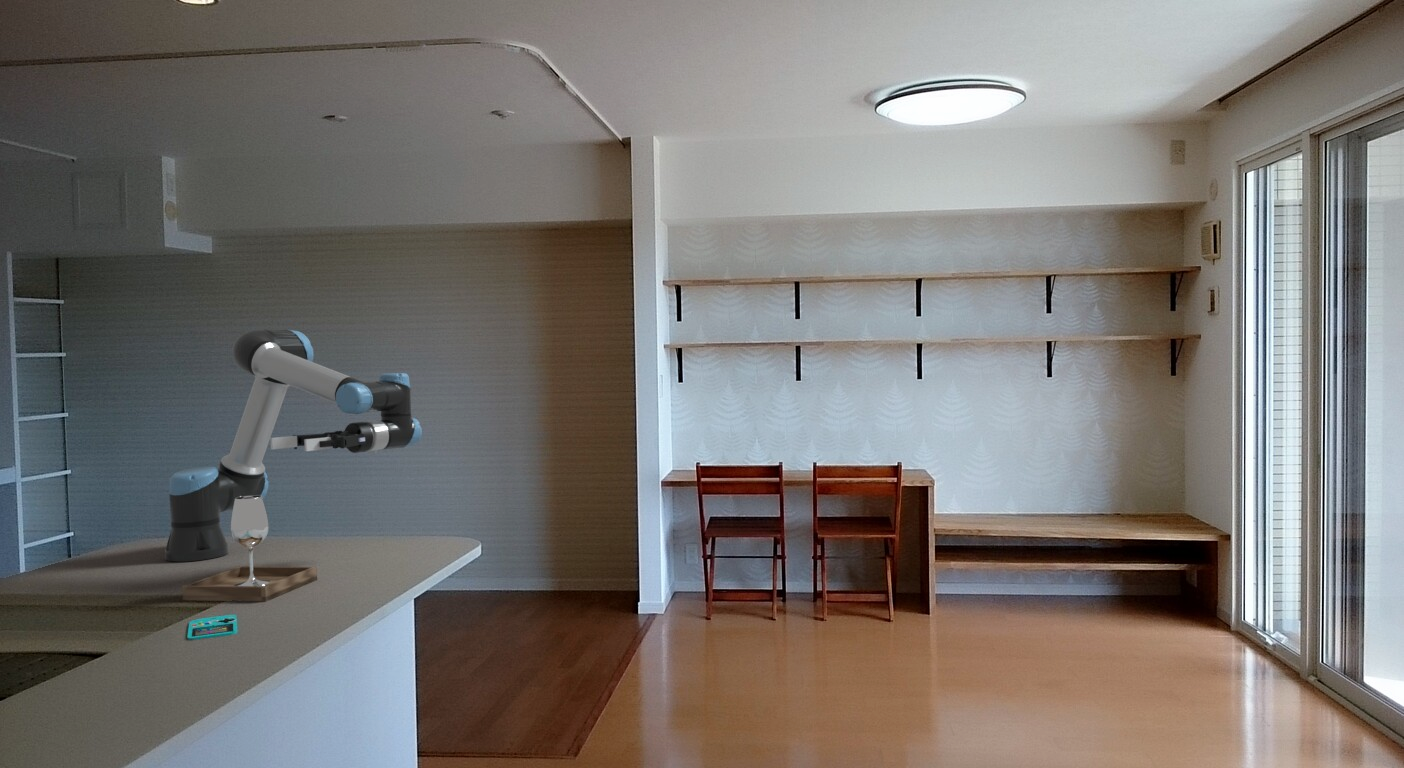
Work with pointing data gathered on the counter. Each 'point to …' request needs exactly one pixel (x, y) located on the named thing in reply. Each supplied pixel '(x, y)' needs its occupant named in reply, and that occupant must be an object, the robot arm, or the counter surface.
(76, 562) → the counter surface
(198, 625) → the handheld gaming console
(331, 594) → the counter surface
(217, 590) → the walnut tray
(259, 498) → the wineglass
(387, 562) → the counter surface
